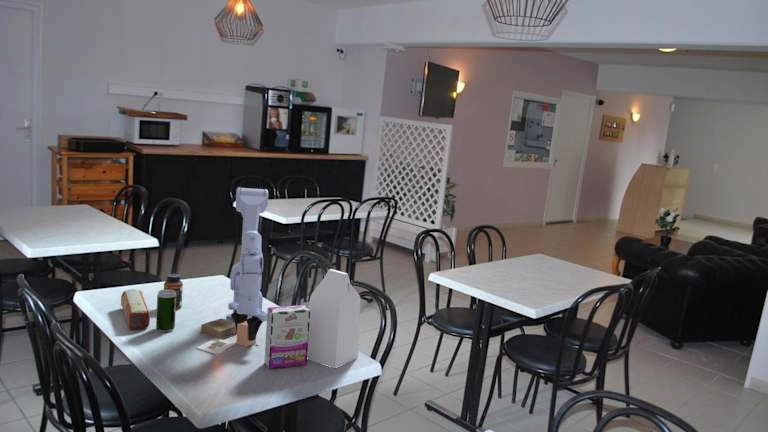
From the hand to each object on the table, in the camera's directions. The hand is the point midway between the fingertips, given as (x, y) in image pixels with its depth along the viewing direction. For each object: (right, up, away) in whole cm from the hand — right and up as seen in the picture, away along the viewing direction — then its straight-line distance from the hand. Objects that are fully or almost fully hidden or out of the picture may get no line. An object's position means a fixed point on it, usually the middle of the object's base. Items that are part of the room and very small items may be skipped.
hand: (246, 337), depth 181 cm
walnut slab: (-9, 0, +6) cm, 11 cm away
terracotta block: (0, -2, 0) cm, 2 cm away
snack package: (-37, +4, +11) cm, 39 cm away
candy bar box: (+13, -5, -11) cm, 18 cm away
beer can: (-26, +2, +4) cm, 26 cm away
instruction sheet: (-8, -2, -4) cm, 9 cm away
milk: (+25, -5, -3) cm, 26 cm away
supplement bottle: (-30, +5, +23) cm, 38 cm away
